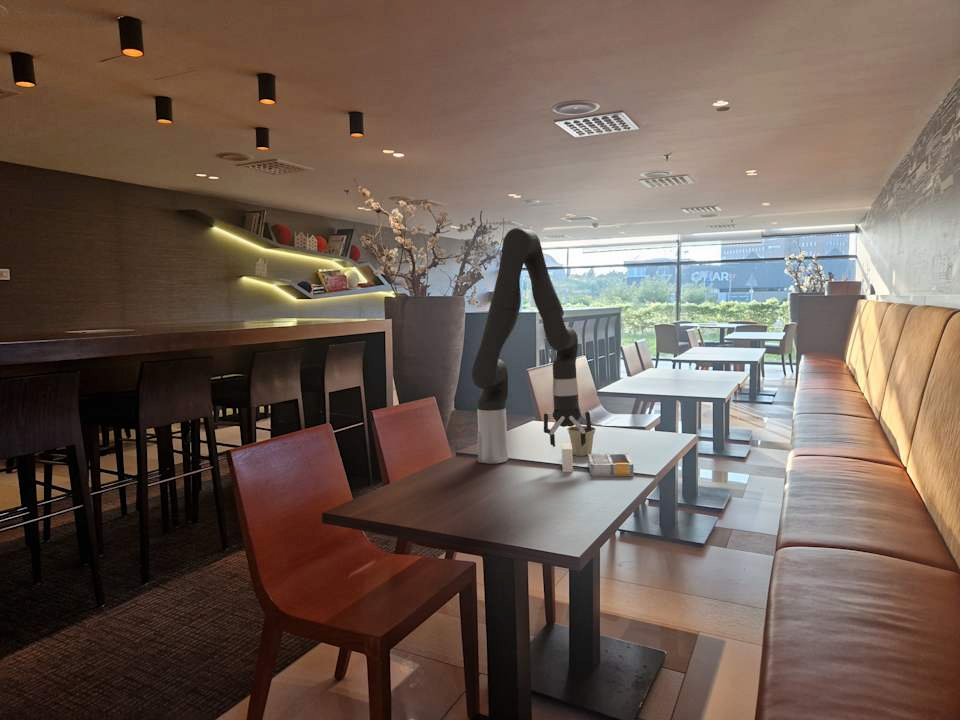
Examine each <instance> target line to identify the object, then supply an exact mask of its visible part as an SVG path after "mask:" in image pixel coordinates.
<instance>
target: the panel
mask: <svg viewBox="0 0 960 720" xmlns="http://www.w3.org/2000/svg"><path fill="white" fill-rule="evenodd" d="M560 443H561V442H560ZM573 455H574V454H572V445H571V442H562V443H561V466H562V467H561V468H562V473H573V472H574V465H573V463H574V461H573V460H574V459H573V457H574V456H573Z"/></svg>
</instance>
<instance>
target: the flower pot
mask: <svg viewBox="0 0 960 720" xmlns="http://www.w3.org/2000/svg"><path fill="white" fill-rule="evenodd" d="M582 427H583V428H586V427H587V425H582ZM596 430H597V429H596V428H595V427H594V426H591V431H589V432H586V434H585V438H586V443H585V444H584V446H581V436H580V433H581V431H580V430H579V429H578V428H577V427H576V426H575V425H574V426H572V427H569V426H568V427H567V431H568V435H569V438H570V443H571V445H572V455H574V456H575V457H576V456H577V457H585V456H587V457H588V454H592V450H593V441H594V435H595V432H596Z"/></svg>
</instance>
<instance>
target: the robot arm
mask: <svg viewBox="0 0 960 720" xmlns="http://www.w3.org/2000/svg"><path fill="white" fill-rule="evenodd" d="M499 261H500V263H499V267H498V268H499V269H498V271H497V272H498V273H497V277H496V281H495V284H494V285H495V286H494V289H493V294H492V298H491V301H490V305H489V309H488V312H487V318H486V322H485V326H484V330H483V334H482V338H481V342H480V344H479V345H480V346H479V349H478V350H477V354H476V357H475V358H474V362H473V365H472V368H471V379H472V383H473V384H474V386H475V387H477V388H478V389H481V390H482V393H481V395H480V397H478V400H477V402H476V405H477V407H476V408H477V410H476V411H477V435H476V436H477V453H478V455H477V456H478V458H477V459H478V463H483V464H490V465H492V464H501V463H505V462H507V461H508V457H509V456H508V453H509V452H508V431H507V428H508V427H507V408H506V407H507V406H506V405H507V400H508V396H509V395H508V394H509V375H508V368H507V366H506V364H505V362H504V361H503V360H502V359H500V355H501V353H502V352H501V351H502V349H503V347H504V344H505V343H506V342H507V340H508V338H509V337H510V335H511V334H512V332H513V330H514V328H515V326H516V324H517V320H518V317H519V313H520V310H521V303H522V296H521V295H522V294H521V284H520V282H521V273H522V271H523V266H524V267H525V269H526V270H527V273H528V276H529V280H530V284H531V285H530V286H531V293H532V298H533V301H534V303H535V306H536V309H537V311H538V314H539V316H540V318H541V320H542V324H543V329H544V335H545V338H546V340H547V343H548V345H549V347H551V349H552V350H554V351H555V352H556V354H555V358H554V360H553V362H552V399H553V400H552V401H553V412H551V413H550V412H547V411H546V412H543V432H544V433H545V434H548V435H549V441H550V442H549V443H550V445H551V446H552V447H553V448H555V447H556V439H555V438H556V437H555V435H556V434H555V433H556V431H557V430H558V429H559V428H560V427H562V428H564V427H568V428H569V427H573V426H576V427H577V428H578V429H579V430H580V431H581V433H580V436H581V446H584V444H585V443H586V438H585V434H586V432H589V431H591V427H592V422H591V413H590V412H589V410H585V411H580V406H579V403H580V402H579V385H578V379H577V356H578V350H579V349H578V348H579V340H578V334H577V331H576V330H575V329H574V328H572V327H571V326H570V327H569V326H566V323H565V322H564V321H565V320H564V318H563V317H564V315H565V313H564V308H563V306H562V304H561V301H560V299H559V296H558V295H557V291H556V289H555V287H554V284H553V282H552V280H551V277H550V273H549V271H548V267H547V263H546V260H545V256H544V252H543V248H542V244H541V241H540V238H539V236H538V234H537V233H536V232H535V231H533V230H531V229H528V228H520V227H519V228H518V227H515V228H512V229H510V230H509V231H507V233H506V234H505V236H504V238H503V240H502V247H501V253H500V259H499ZM581 417H582V418H583V420H585V423H586V425H585V426H587V427H586V428H583V427H582V426H583V425H582V424H581V422H580V421H579V419H580V418H581ZM551 418H553V419H554V420H555V422H554V424H553V425H552V427H551V428H549V427H548V426H549V421H551Z"/></svg>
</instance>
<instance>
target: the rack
mask: <svg viewBox="0 0 960 720" xmlns="http://www.w3.org/2000/svg"><path fill="white" fill-rule="evenodd" d="M587 466H588V470H589V473H590V477H593V478H594V477H597V478H598V477H599V478H601V477H603V478H605V477H611V478H612V477H634V463H633V461H632V459H631V457H630V456H629V454H628V453H627V452H626V453H624V452H623V453H591V454H588V456H587Z"/></svg>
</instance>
